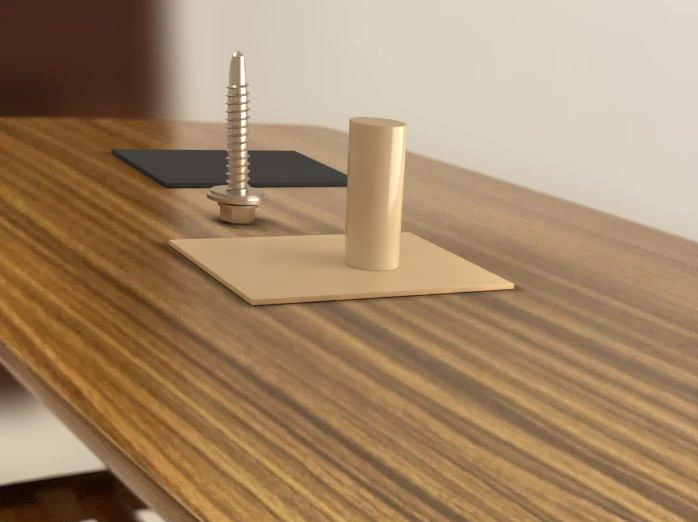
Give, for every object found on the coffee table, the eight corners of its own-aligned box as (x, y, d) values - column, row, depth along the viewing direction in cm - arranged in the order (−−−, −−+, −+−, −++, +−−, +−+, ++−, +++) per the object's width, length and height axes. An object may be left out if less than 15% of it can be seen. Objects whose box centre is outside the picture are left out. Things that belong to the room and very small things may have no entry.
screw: (234, 230, 97) (194, 217, 99) (280, 223, 100) (240, 211, 103) (234, 53, 91) (191, 44, 94) (283, 53, 95) (240, 45, 97)
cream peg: (359, 272, 88) (365, 126, 83) (334, 258, 91) (339, 116, 86) (408, 269, 90) (417, 127, 86) (383, 255, 93) (390, 117, 88)
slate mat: (166, 187, 108) (166, 182, 108) (111, 153, 120) (111, 149, 120) (361, 185, 119) (361, 181, 118) (294, 154, 130) (294, 150, 130)
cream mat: (251, 305, 79) (251, 299, 79) (168, 244, 90) (168, 239, 90) (513, 289, 90) (514, 283, 89) (409, 236, 101) (409, 231, 101)
